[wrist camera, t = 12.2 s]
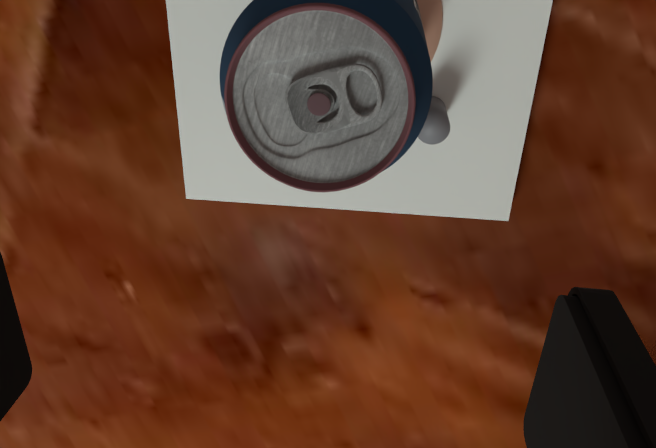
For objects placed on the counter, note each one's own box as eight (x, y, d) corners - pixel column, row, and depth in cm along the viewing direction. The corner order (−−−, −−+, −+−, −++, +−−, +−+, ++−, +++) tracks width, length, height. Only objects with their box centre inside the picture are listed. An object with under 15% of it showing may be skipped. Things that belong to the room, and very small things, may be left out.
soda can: (299, 114, 30) (249, 228, 20) (254, -27, 27) (166, 20, 17) (433, 79, 29) (456, 184, 18) (402, -74, 26) (408, -54, 15)
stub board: (592, -234, 23) (624, -256, 20) (504, 210, 33) (516, 244, 30) (151, -241, 25) (114, -261, 21) (192, 189, 34) (171, 219, 31)
